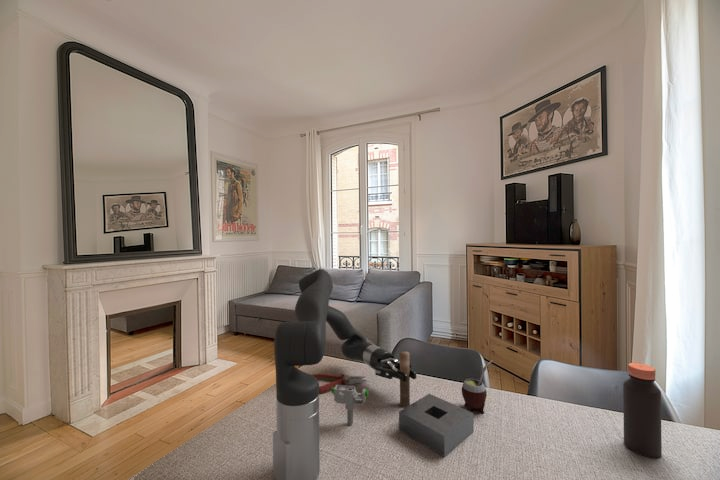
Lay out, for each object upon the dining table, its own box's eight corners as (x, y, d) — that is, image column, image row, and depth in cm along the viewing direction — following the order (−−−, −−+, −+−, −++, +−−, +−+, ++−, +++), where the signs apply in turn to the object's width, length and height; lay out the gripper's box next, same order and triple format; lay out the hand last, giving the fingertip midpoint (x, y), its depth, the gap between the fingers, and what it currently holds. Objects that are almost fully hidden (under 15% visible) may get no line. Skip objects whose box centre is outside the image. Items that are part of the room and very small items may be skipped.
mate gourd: (457, 407, 92) (456, 358, 92) (472, 399, 97) (471, 352, 97) (479, 419, 86) (479, 366, 86) (494, 409, 91) (493, 360, 91)
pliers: (369, 390, 104) (369, 382, 104) (308, 397, 100) (308, 389, 100) (362, 375, 116) (362, 368, 116) (306, 381, 112) (306, 373, 112)
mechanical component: (367, 429, 82) (367, 392, 82) (331, 425, 84) (330, 389, 84) (369, 422, 85) (368, 387, 85) (334, 418, 87) (333, 384, 87)
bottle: (641, 459, 70) (640, 372, 70) (616, 439, 77) (615, 361, 77) (670, 458, 70) (669, 372, 70) (642, 439, 77) (641, 361, 77)
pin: (405, 408, 92) (405, 355, 92) (398, 404, 94) (397, 353, 94) (411, 404, 94) (411, 353, 94) (404, 401, 96) (403, 350, 96)
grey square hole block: (444, 457, 71) (444, 436, 71) (399, 429, 81) (398, 411, 82) (473, 431, 81) (473, 413, 81) (429, 410, 91) (429, 393, 91)
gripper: (361, 352, 102) (392, 370, 88) (393, 344, 110) (427, 360, 95) (361, 374, 102) (393, 396, 88) (393, 365, 110) (428, 383, 95)
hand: (410, 377), depth 92 cm, fingers closed on pin, 3 cm apart
